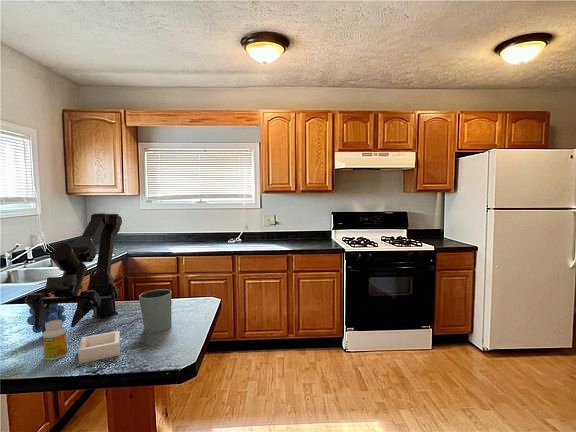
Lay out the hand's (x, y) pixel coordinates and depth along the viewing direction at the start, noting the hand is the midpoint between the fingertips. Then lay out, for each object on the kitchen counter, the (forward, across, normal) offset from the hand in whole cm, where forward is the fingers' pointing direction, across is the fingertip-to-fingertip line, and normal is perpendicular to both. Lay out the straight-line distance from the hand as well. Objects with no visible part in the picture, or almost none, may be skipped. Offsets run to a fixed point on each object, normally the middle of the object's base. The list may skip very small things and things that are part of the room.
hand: (54, 328), depth 95 cm
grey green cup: (-5, +23, +17) cm, 29 cm away
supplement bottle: (+6, 0, +6) cm, 8 cm away
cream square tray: (+5, +12, +6) cm, 14 cm away
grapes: (-6, -10, +17) cm, 21 cm away
